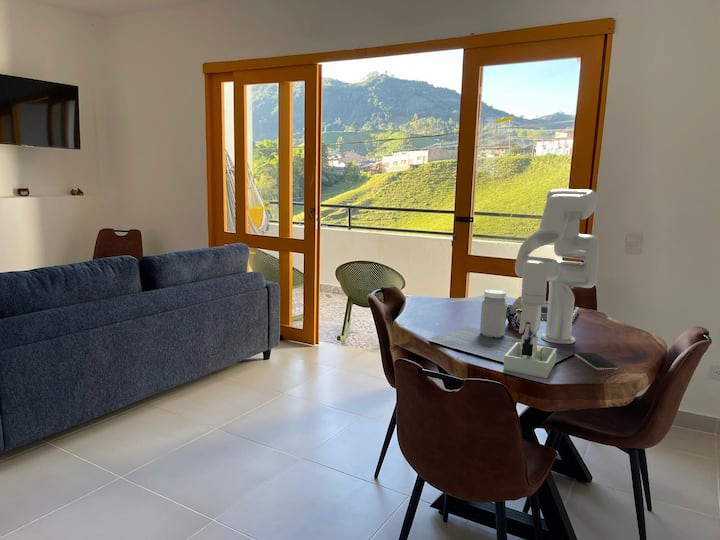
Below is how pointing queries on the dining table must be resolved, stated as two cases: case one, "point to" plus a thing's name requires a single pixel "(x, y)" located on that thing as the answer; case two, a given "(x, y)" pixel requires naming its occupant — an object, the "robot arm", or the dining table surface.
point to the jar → (493, 313)
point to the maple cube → (539, 353)
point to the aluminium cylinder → (534, 352)
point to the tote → (530, 362)
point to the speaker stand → (575, 312)
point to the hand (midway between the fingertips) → (528, 352)
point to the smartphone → (596, 361)
